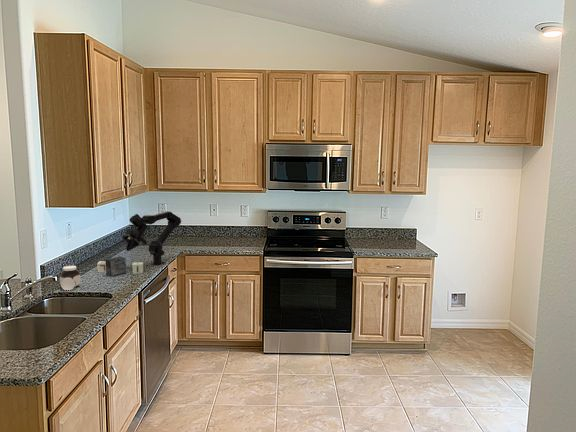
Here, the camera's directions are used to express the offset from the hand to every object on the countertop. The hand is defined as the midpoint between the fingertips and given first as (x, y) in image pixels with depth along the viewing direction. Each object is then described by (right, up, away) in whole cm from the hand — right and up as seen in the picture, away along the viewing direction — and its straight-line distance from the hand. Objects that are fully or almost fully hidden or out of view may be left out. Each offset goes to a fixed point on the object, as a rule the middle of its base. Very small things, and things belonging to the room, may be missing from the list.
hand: (127, 250), depth 288 cm
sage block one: (+7, -14, -1) cm, 16 cm away
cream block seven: (-16, -14, +2) cm, 21 cm away
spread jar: (-19, -19, -36) cm, 45 cm away
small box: (-5, -15, -6) cm, 17 cm away
